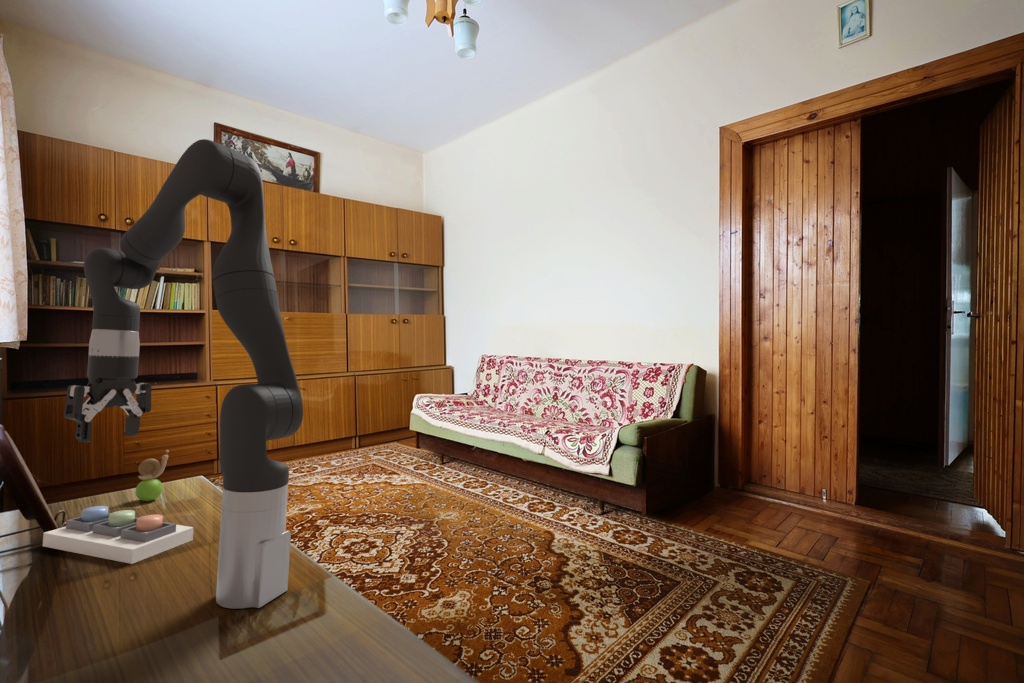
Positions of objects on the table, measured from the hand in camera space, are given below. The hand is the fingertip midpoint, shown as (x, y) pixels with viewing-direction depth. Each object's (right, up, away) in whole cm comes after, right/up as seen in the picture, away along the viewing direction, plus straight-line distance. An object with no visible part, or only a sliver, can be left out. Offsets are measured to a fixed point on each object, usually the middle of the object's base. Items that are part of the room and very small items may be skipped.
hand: (108, 438), depth 93 cm
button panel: (+1, -21, +1) cm, 21 cm away
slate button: (-5, -17, +3) cm, 18 cm away
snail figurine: (-13, -21, +28) cm, 37 cm away
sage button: (+1, -17, +1) cm, 17 cm away
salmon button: (+8, -17, 0) cm, 19 cm away
